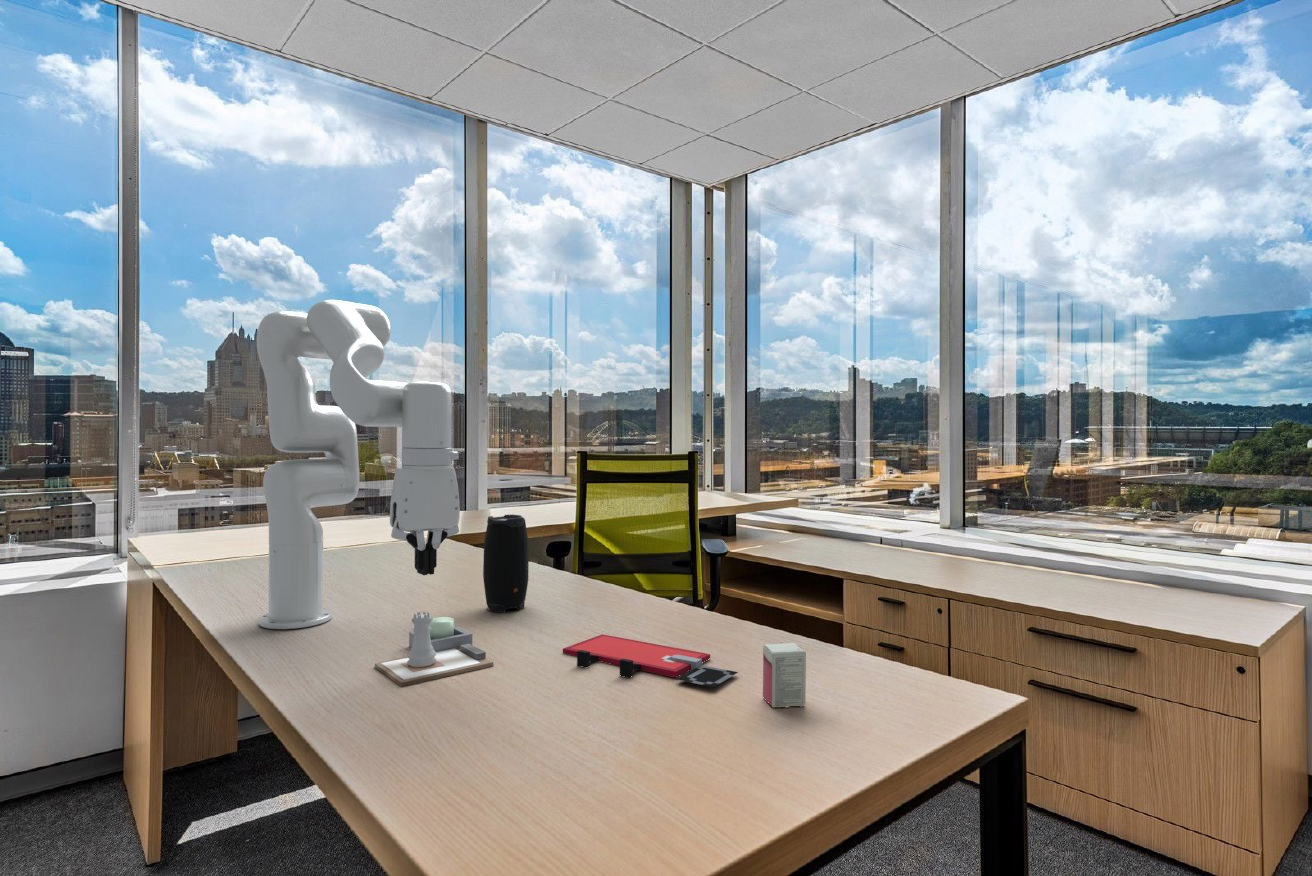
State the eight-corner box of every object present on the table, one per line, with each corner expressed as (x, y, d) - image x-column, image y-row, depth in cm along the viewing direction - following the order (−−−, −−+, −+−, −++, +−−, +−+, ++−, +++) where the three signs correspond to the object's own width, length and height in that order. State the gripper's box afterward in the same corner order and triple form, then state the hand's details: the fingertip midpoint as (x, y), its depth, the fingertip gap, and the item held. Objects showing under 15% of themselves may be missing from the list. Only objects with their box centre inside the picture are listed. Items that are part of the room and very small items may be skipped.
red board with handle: (707, 697, 104) (751, 670, 116) (707, 677, 104) (751, 653, 116) (548, 662, 120) (602, 641, 132) (548, 645, 120) (602, 626, 132)
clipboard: (374, 667, 115) (375, 657, 114) (462, 649, 124) (462, 640, 124) (401, 686, 106) (401, 675, 106) (493, 665, 116) (493, 655, 116)
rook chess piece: (427, 669, 111) (427, 618, 111) (401, 667, 112) (401, 616, 112) (441, 660, 116) (442, 611, 116) (416, 658, 117) (416, 609, 117)
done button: (423, 636, 126) (423, 619, 125) (447, 632, 128) (447, 615, 128) (433, 642, 122) (433, 625, 122) (458, 638, 125) (458, 620, 125)
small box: (794, 696, 104) (795, 641, 104) (806, 707, 100) (806, 651, 100) (761, 697, 104) (762, 643, 103) (771, 709, 99) (772, 652, 99)
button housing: (409, 646, 126) (409, 631, 126) (452, 637, 131) (452, 624, 131) (427, 657, 120) (427, 642, 120) (472, 648, 125) (472, 634, 125)
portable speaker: (529, 612, 150) (530, 518, 149) (483, 614, 147) (484, 519, 147) (526, 602, 158) (527, 513, 158) (482, 604, 156) (483, 514, 155)
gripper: (460, 457, 123) (459, 564, 123) (371, 459, 113) (370, 575, 113) (480, 459, 117) (479, 571, 117) (387, 461, 107) (386, 583, 108)
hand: (425, 573), depth 115 cm, fingers closed
